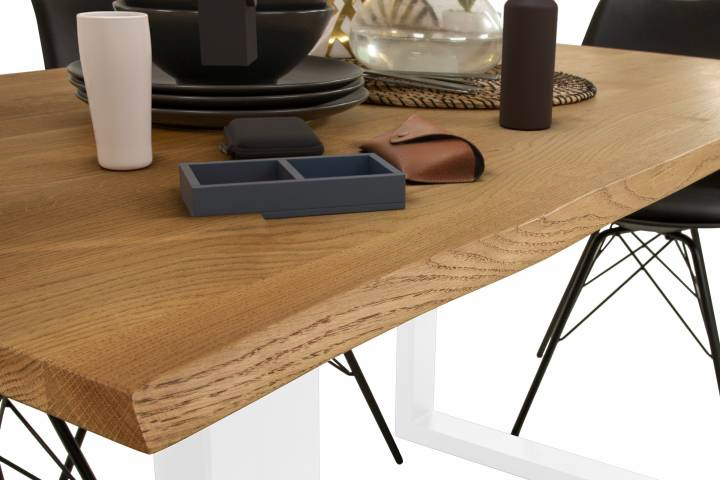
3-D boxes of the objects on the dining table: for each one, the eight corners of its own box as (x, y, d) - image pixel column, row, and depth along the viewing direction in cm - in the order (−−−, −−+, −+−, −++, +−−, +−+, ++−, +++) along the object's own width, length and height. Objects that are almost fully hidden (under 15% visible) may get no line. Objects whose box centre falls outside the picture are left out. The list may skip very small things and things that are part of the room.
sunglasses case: (352, 144, 113) (381, 92, 112) (402, 173, 116) (431, 122, 115) (406, 181, 97) (440, 120, 96) (463, 212, 101) (496, 154, 100)
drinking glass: (80, 172, 100) (64, 15, 95) (105, 158, 106) (90, 10, 101) (148, 174, 100) (135, 17, 95) (168, 159, 106) (157, 12, 101)
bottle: (555, 123, 132) (564, -38, 125) (547, 132, 126) (556, -37, 119) (504, 119, 133) (511, -40, 127) (493, 128, 127) (500, -38, 120)
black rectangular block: (201, 65, 78) (193, -58, 75) (213, 57, 83) (206, -59, 80) (247, 66, 79) (241, -56, 75) (257, 58, 83) (252, -58, 80)
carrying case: (214, 142, 115) (223, 171, 102) (212, 115, 114) (221, 141, 101) (307, 139, 118) (327, 167, 105) (306, 113, 117) (327, 138, 104)
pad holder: (405, 208, 90) (405, 174, 89) (194, 224, 83) (192, 187, 82) (374, 184, 98) (374, 152, 97) (180, 196, 92) (178, 163, 91)
